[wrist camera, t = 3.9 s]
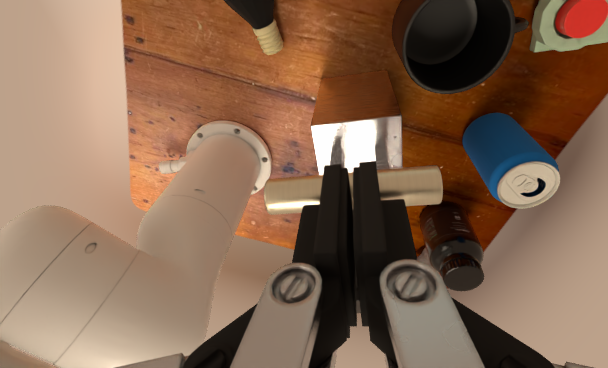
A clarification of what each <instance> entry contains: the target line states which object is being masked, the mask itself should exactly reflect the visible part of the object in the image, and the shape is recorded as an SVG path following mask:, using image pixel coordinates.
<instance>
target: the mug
mask: <svg viewBox="0 0 608 368" xmlns="http://www.w3.org/2000/svg"><path fill="white" fill-rule="evenodd" d="M528 24H529V22H528V21H527V20H526V19H524V18H520V17H515V16H514V12H513V8H512V6H511V4H510V1H509V0H402V1H401V3H400V4H399V6H398V8H397V10H396V13H395V16H394V19H393V24H392V38H393V43H394V46H395V49H396V51H397V53H398V55H399V57H400V59H401V61H402V63H403V65H404V67H405V69H406V71H407V73H408V74H409V76H410V77H411V79H412V80H413V81H414V82H415V83H416V84H418V85H419V86H420V87H422V88H424V89H426V90H428V91H431V92H434V93H440V94H453V93H458V92H462V91H466V90H469V89H471V88H473V87H475V86H477V85H479V84H480V83H482V82H483V81H485V80H486V79H487V78H489V77H490V76H491V75H492V74H493V73H494V72H495V71H496V70H497V69H498V68H499V66H500V65H501V64H502V62H503V61H504V59H505V58H506V56H507V54H508V53H509V50H510V48H511V45H512V42H513V38H514V34H515V33H517V32H520V31H522V30H525V29H526V28H527V26H528Z"/></svg>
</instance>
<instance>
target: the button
mask: <svg viewBox="0 0 608 368" xmlns="http://www.w3.org/2000/svg"><path fill="white" fill-rule="evenodd" d="M607 15H608V4H607V2H606V0H568V1H567V2H566V3H565V4H564V5H563V6H562V7H561V8H560V10H559V11H558V13H557V16H556V20H555V25H556V28H557V30H558V31H559V32H560V33H562V34H564V35H567V36H569V37H572V38H583V37H586V36H589V35H591V34H592V33H594V32H595V31H597V30H598V29H599V28H600V27H601V26H602V25H603V23H604V22H605V20H606V18H607Z"/></svg>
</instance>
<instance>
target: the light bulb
mask: <svg viewBox="0 0 608 368" xmlns="http://www.w3.org/2000/svg"><path fill="white" fill-rule="evenodd" d="M224 1H225V2H226V3H227V4H228V5H229V6H230V7H231V8H232V9H233V10H234V11H235V12H237V13H238V14H239V15H240V16H241V17H242V18H244V19H245V20H246V21H247V22H248V23H249V24H250V25H251V26H252V27H253V28H252V29H253V31H254V34H255V35H256V36H258V38H257V40H259V44H260V45H261V47H260V48H261V49H263V51H262V52H263V53H266V54H267V55H272V54H275V53H277V52H279V51H280V50H281V49H282V48H283V40H282V39H281V35H280V32H279V31H278V27H277V26H276V24H277V23H276V21H275V19H274V18H273V9H274V0H224Z"/></svg>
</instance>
